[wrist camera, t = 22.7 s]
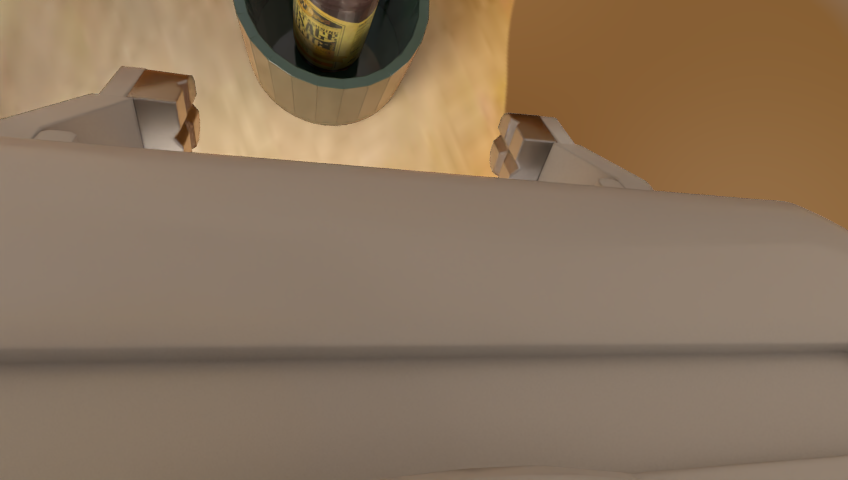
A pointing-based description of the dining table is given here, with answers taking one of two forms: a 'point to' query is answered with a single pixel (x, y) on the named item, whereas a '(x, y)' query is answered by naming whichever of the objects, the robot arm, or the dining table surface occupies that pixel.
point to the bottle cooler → (337, 91)
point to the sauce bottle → (331, 31)
